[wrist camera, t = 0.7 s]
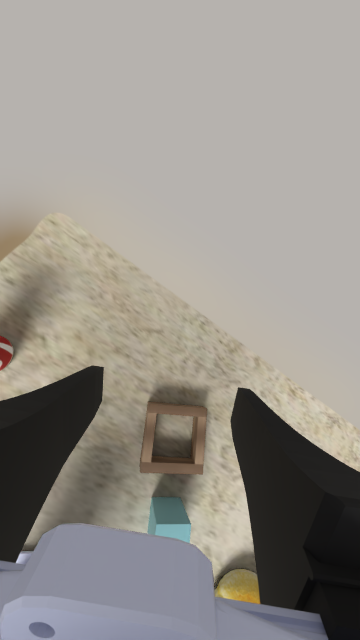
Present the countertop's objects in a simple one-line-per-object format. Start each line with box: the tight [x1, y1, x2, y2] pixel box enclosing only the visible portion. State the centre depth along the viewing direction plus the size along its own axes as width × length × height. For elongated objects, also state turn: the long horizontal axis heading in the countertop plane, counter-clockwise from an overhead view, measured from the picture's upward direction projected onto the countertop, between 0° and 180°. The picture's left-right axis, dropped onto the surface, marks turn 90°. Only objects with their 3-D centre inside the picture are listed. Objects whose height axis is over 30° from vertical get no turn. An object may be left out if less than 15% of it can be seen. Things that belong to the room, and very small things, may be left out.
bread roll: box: [214, 569, 260, 604], centre depth 28 cm, size 8×9×4 cm
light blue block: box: [148, 497, 191, 543], centre depth 28 cm, size 4×4×6 cm
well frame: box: [140, 402, 207, 474], centre depth 32 cm, size 8×8×2 cm
